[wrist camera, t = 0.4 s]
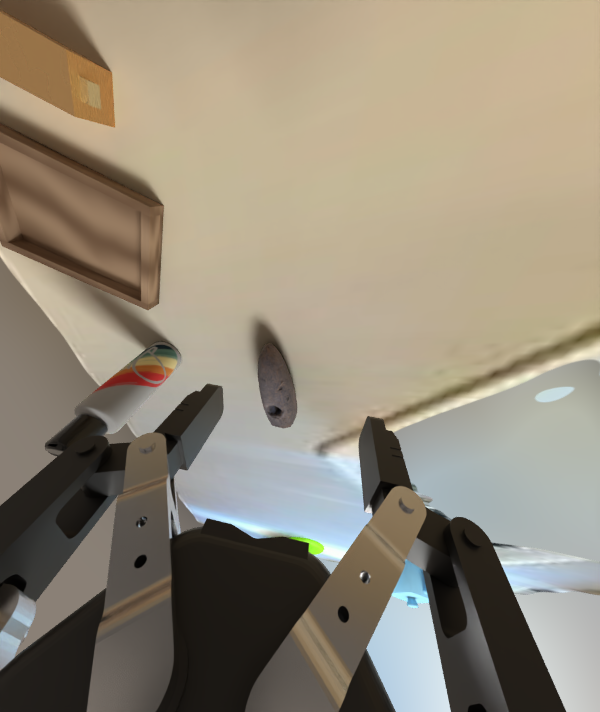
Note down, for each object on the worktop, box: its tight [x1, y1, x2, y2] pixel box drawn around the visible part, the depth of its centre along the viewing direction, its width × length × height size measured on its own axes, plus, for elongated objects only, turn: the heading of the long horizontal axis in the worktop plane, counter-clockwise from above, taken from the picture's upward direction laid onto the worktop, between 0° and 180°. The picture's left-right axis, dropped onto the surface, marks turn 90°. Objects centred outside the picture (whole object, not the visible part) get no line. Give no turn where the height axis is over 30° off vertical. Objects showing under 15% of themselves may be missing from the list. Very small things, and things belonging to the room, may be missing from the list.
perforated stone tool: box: [258, 343, 297, 428], centre depth 38 cm, size 15×5×7 cm, turn 8°
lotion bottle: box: [45, 342, 181, 457], centre depth 34 cm, size 6×6×20 cm
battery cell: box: [0, 10, 115, 127], centre depth 20 cm, size 4×14×4 cm, turn 66°
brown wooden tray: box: [0, 123, 164, 310], centre depth 29 cm, size 14×20×2 cm
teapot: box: [391, 559, 429, 608], centre depth 77 cm, size 18×16×14 cm
